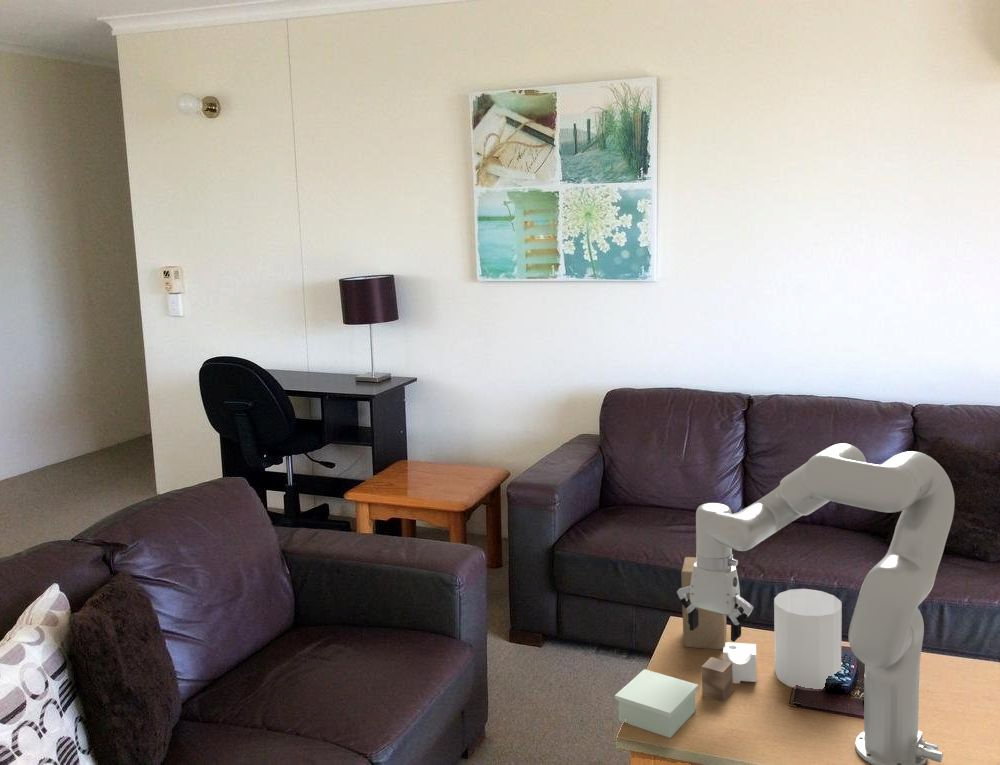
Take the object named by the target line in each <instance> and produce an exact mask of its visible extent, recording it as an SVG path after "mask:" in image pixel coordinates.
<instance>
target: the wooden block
mask: <svg viewBox="0 0 1000 765" xmlns="http://www.w3.org/2000/svg"><path fill="white" fill-rule="evenodd" d="M695 562H696V557H695V556H694V557H693V556H686V557H684V560H683V565H682V568H681V572H680V573H681V575H680V576H681V588H683V587H687V586H690V585H691V577H692V571H693V566H694V563H695ZM686 595H687V597H688V598H689V600H690V593H686ZM681 605H682V606H681V607H682V638H683V639H682V640H683V646H684V647H685V648H695V649H696V648H697V649H709V650H711V649H712V650H722V651H723V649H724V647H725V643H726V642H727V641H726V638H727V615H725V614H720V613H716V612H712V611H708V610H704V609H701V608H697V607H696V609H698V614H699V625H698V626H697V627H696V628H695V629H694V630H690V624H688V613H687V612H686V608H685V607H684V606H683V604H682V603H681Z"/></svg>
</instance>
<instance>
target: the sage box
mask: <svg viewBox="0 0 1000 765" xmlns="http://www.w3.org/2000/svg"><path fill="white" fill-rule="evenodd" d="M698 690H699V684H697V683H693V682H690V681H687V680H684V679H681V678H677V677H673V676H669V675H666V674H662V673H659V672H656V671H652V670H649V669H647V668H646V669H645V668H644V669H643V670H641V671H640V672H639V673H637V675H636V676H635V677H634V678H633V679H631V681H629V682H628V683H627V684H625V686H624V687H622V688H621V689H620V690H619V691H618V692H617V693H616V694H615V695H614V700H615V701H618V703H617V704H618V705H617V706H618V721H619V722H622V723H624V721H625V719H626V721H625V724H627V723H628V724H627V725H631V726H633V727H635V728H639V729H642V730H646V731H648V732H650V733H651V732H652V733H654V734H657V735H661V736H662V737H663V736H664V737H665V738H669V739H671V738H672V737H673V736H674V734H676V733H677V731H679V729H680V728H681V727H682V726H683V725H684V724H686V721H688V720H689V719H690V718H691V716H693V714H694V713H695V712H696V711H697V709H696V706H697V705H696V692H698Z"/></svg>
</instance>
